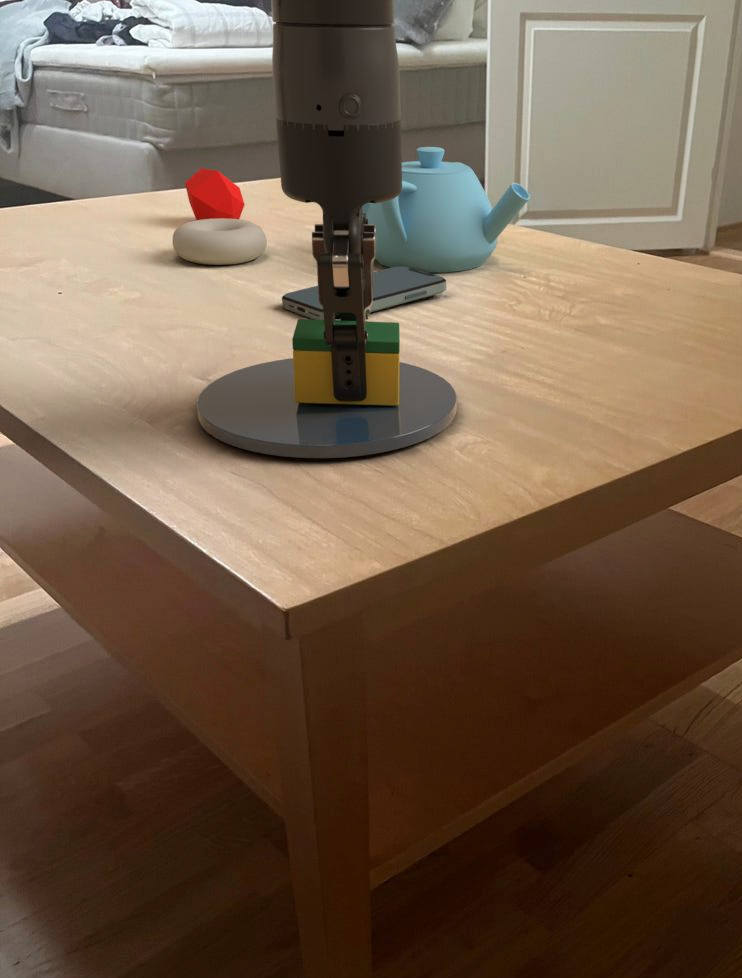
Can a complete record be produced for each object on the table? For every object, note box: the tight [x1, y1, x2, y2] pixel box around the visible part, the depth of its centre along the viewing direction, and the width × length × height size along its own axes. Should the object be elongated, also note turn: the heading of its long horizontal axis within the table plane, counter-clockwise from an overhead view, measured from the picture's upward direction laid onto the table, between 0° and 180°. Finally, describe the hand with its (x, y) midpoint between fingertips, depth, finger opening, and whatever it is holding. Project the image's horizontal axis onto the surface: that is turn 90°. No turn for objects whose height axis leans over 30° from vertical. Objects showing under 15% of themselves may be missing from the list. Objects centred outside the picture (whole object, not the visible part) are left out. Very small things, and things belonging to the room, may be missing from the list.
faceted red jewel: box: [184, 168, 246, 221], centre depth 123 cm, size 7×7×8 cm
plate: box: [196, 357, 458, 459], centre depth 71 cm, size 18×18×1 cm
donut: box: [172, 218, 268, 266], centre depth 108 cm, size 10×3×10 cm
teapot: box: [362, 146, 531, 274], centre depth 107 cm, size 15×17×11 cm
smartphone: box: [281, 266, 447, 320], centre depth 95 cm, size 8×2×15 cm
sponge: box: [291, 318, 401, 406], centre depth 69 cm, size 7×5×4 cm, turn 94°
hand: (352, 385), depth 70 cm, fingers closed on sponge, 4 cm apart
